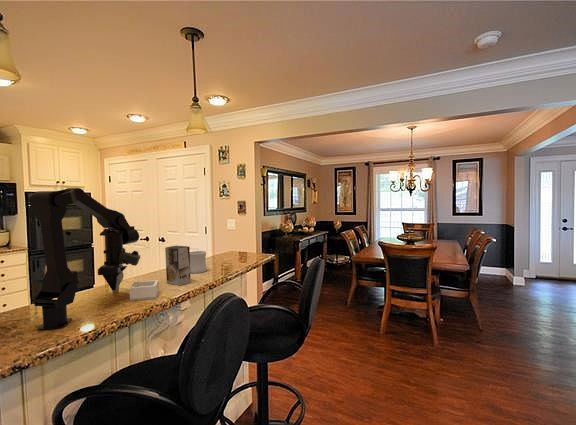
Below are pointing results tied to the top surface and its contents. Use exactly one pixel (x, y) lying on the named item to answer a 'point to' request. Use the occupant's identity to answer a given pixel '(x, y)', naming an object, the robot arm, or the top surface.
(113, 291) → the light bulb
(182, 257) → the coffee box
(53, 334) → the top surface
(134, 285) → the white hollow square box
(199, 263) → the mug
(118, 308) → the top surface
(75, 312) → the top surface
